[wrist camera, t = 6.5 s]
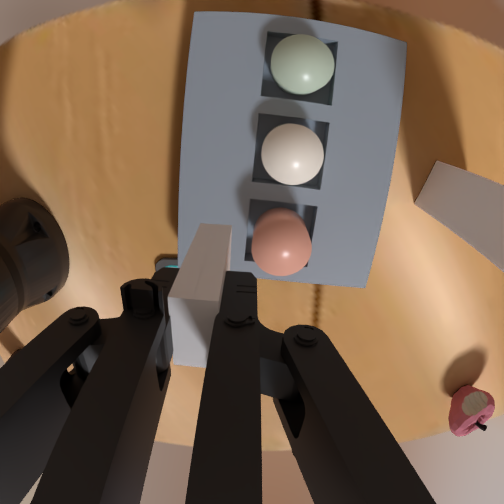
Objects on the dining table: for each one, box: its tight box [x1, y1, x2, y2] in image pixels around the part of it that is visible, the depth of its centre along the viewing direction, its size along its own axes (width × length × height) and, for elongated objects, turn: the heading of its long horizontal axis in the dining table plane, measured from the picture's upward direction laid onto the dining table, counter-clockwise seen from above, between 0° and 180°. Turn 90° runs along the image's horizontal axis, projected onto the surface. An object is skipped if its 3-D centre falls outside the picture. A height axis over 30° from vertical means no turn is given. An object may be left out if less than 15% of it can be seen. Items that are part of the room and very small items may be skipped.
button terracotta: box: [252, 207, 312, 276], centre depth 30 cm, size 5×5×4 cm
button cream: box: [261, 123, 324, 185], centre depth 28 cm, size 5×5×4 cm
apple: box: [449, 385, 495, 436], centre depth 42 cm, size 10×9×10 cm
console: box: [178, 11, 407, 288], centre depth 30 cm, size 20×26×4 cm
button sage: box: [270, 34, 334, 95], centre depth 24 cm, size 5×5×4 cm
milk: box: [414, 161, 504, 272], centre depth 22 cm, size 6×6×22 cm
